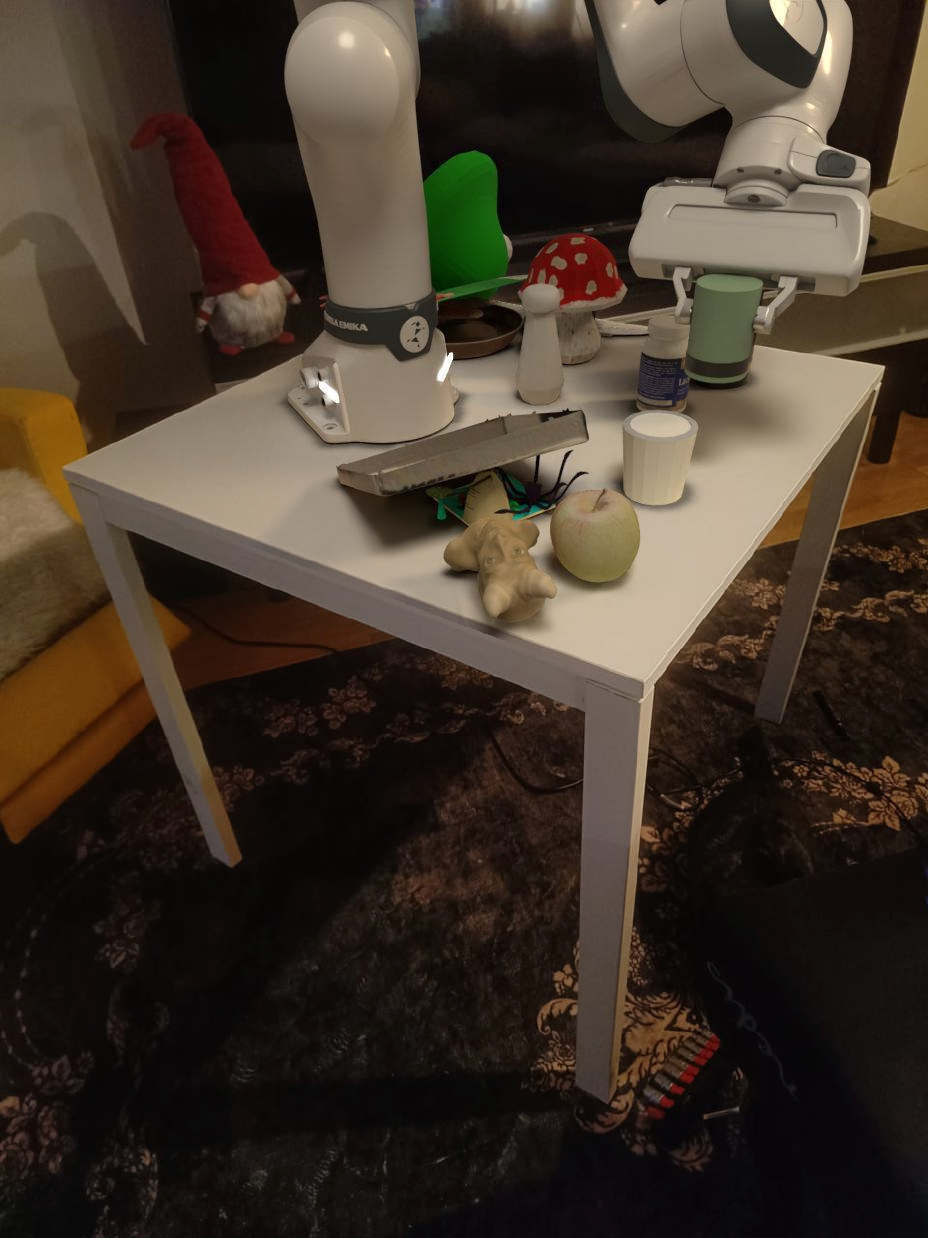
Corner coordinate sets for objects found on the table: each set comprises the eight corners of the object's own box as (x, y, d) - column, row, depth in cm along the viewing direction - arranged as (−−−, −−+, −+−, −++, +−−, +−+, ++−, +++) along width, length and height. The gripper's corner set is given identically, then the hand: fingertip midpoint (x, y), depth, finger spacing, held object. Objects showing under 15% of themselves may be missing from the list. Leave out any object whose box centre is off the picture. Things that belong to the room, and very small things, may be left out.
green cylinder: (670, 371, 75) (682, 282, 70) (709, 356, 77) (722, 268, 72) (721, 388, 71) (736, 295, 66) (759, 371, 74) (777, 281, 69)
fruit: (654, 563, 68) (664, 479, 63) (610, 606, 63) (618, 519, 58) (577, 536, 72) (581, 455, 67) (531, 575, 67) (531, 491, 62)
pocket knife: (559, 332, 113) (559, 325, 114) (559, 338, 113) (559, 331, 115) (658, 331, 111) (656, 324, 113) (657, 336, 112) (655, 329, 113)
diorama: (409, 507, 77) (404, 455, 74) (534, 463, 83) (535, 413, 80) (473, 560, 70) (471, 504, 66) (606, 507, 76) (610, 453, 72)
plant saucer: (492, 313, 123) (491, 293, 121) (545, 348, 110) (545, 326, 108) (383, 336, 118) (380, 315, 116) (426, 375, 105) (424, 352, 103)
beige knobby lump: (441, 570, 69) (471, 657, 59) (436, 497, 65) (469, 578, 55) (532, 556, 70) (576, 640, 61) (534, 484, 66) (582, 562, 56)
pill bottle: (686, 419, 90) (697, 330, 84) (634, 417, 91) (642, 329, 85) (685, 398, 95) (696, 312, 88) (636, 397, 96) (644, 312, 90)
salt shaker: (573, 396, 97) (578, 284, 89) (543, 412, 94) (545, 297, 86) (535, 385, 100) (536, 276, 92) (506, 400, 97) (504, 288, 89)
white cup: (674, 515, 74) (683, 446, 70) (605, 498, 77) (610, 431, 73) (699, 483, 79) (709, 416, 74) (633, 468, 82) (639, 403, 77)
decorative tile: (378, 511, 64) (598, 441, 69) (367, 474, 63) (590, 405, 68) (341, 493, 83) (515, 439, 87) (332, 464, 82) (508, 410, 86)
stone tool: (482, 305, 105) (371, 307, 107) (482, 328, 106) (373, 331, 109) (495, 289, 116) (395, 292, 119) (495, 311, 118) (396, 314, 120)
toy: (408, 285, 138) (468, 348, 138) (332, 296, 118) (403, 369, 118) (502, 149, 123) (570, 220, 123) (434, 134, 103) (515, 218, 103)
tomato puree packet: (434, 307, 98) (559, 275, 107) (432, 297, 98) (558, 266, 106) (378, 310, 111) (495, 282, 119) (376, 302, 110) (493, 274, 119)
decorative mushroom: (498, 364, 106) (496, 242, 96) (549, 332, 115) (551, 217, 105) (593, 382, 99) (601, 253, 90) (639, 347, 108) (650, 226, 99)
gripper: (646, 153, 73) (603, 295, 72) (891, 162, 65) (846, 320, 64) (655, 198, 79) (615, 329, 78) (881, 211, 71) (839, 357, 70)
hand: (721, 326), depth 71 cm, fingers closed on green cylinder, 5 cm apart
